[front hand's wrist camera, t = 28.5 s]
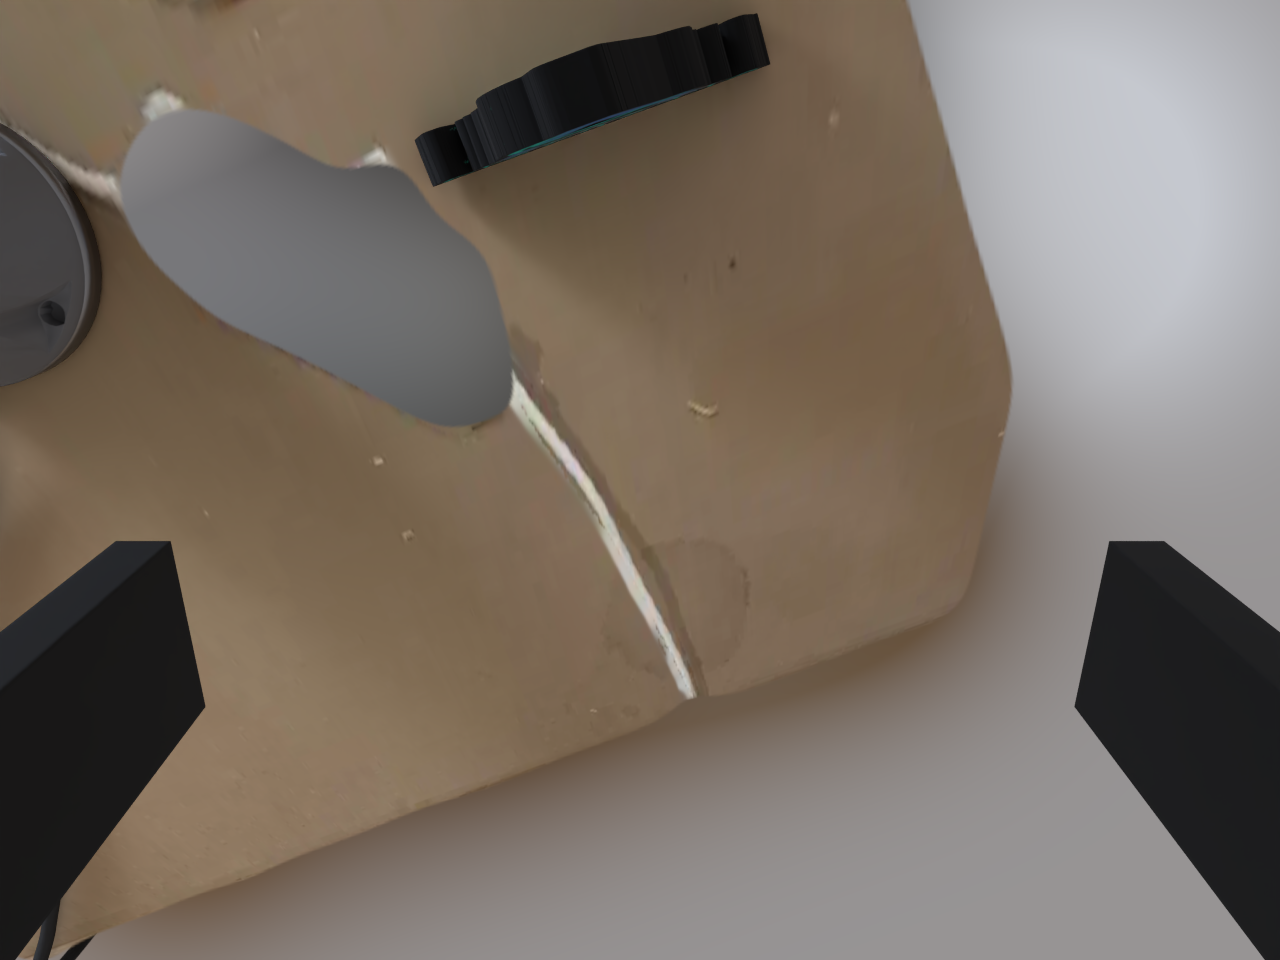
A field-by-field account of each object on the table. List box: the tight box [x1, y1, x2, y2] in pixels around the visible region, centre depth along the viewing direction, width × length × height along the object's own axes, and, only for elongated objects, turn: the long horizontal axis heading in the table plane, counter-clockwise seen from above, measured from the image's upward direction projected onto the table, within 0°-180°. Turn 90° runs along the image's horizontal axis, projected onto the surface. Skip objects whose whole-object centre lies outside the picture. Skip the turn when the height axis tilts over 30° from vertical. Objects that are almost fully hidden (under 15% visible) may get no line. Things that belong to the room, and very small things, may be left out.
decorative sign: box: [415, 14, 770, 187], centre depth 41 cm, size 19×2×15 cm, turn 109°
